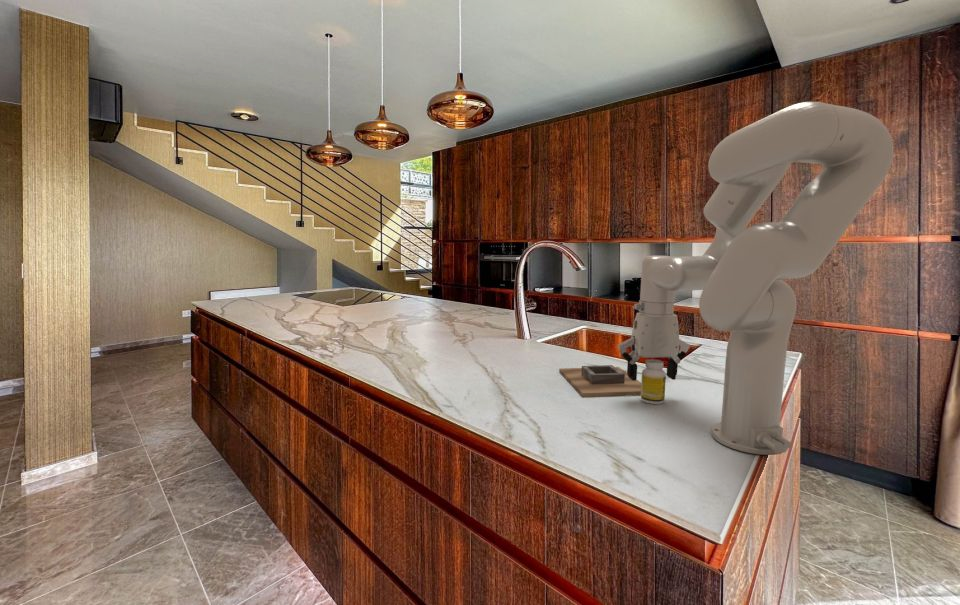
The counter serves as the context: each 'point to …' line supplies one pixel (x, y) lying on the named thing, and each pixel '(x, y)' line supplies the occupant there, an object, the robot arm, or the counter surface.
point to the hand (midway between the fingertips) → (651, 378)
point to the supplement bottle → (653, 382)
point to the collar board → (601, 381)
